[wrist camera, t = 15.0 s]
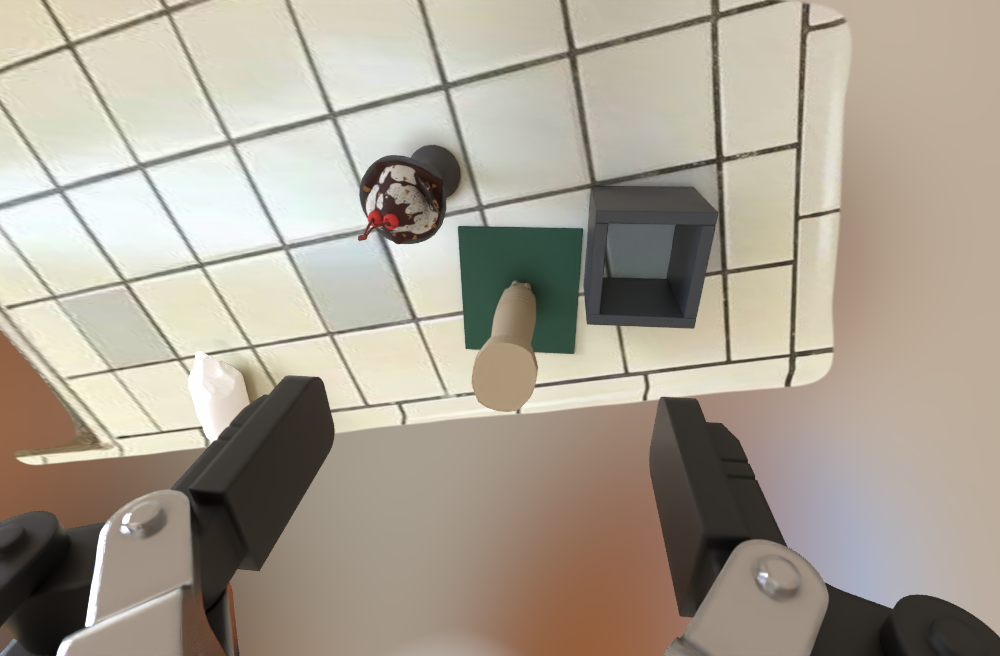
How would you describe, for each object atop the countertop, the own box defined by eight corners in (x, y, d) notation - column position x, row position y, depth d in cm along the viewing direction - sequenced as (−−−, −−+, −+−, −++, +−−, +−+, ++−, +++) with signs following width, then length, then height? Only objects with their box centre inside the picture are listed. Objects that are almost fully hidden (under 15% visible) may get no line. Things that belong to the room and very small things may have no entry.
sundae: (393, 195, 46) (326, 250, 33) (408, 124, 43) (340, 154, 30) (458, 218, 47) (417, 282, 34) (478, 150, 43) (441, 191, 30)
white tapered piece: (246, 339, 57) (216, 366, 52) (264, 417, 63) (239, 447, 58) (197, 333, 57) (164, 359, 52) (220, 411, 63) (192, 441, 58)
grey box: (591, 185, 44) (596, 210, 37) (693, 186, 43) (718, 212, 36) (583, 286, 49) (586, 324, 42) (675, 288, 48) (694, 328, 41)
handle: (549, 269, 48) (543, 349, 35) (536, 324, 51) (527, 416, 38) (501, 260, 48) (478, 337, 35) (492, 315, 51) (467, 404, 38)
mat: (458, 226, 47) (457, 227, 47) (582, 228, 46) (582, 229, 45) (466, 347, 54) (465, 349, 54) (574, 352, 53) (574, 354, 52)
